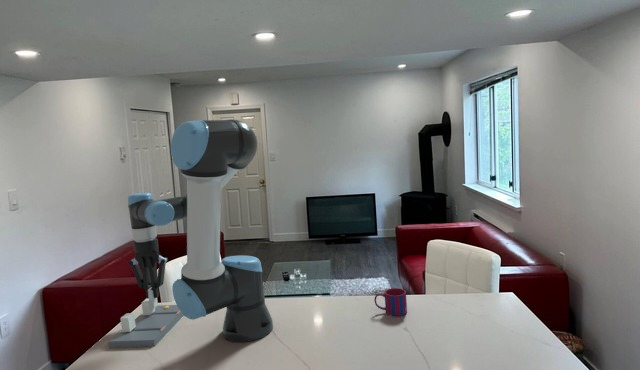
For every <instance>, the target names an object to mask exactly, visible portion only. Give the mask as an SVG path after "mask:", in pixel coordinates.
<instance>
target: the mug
mask: <svg viewBox="0 0 640 370" xmlns="http://www.w3.org/2000/svg"><path fill="white" fill-rule="evenodd" d="M379 296H382V297H384V305H385V307H383V306H380V305H379V304H378V303H377V297H379ZM374 304H375V306H376V307H377V308H378V309H380V310H382V311H385V314H386V315H387V316H390V317H393V318H394V317H395V318H397V317H404V316H405V315H407V314H408V306H407V305H408V304H407V291H406V290H405V289H403V288H399V287H393V288H392V287H391V288H388V289H386V290H385V291H384V293H377V294H375V296H374Z"/></svg>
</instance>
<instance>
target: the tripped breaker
mask: <svg viewBox="0 0 640 370" xmlns="http://www.w3.org/2000/svg"><path fill="white" fill-rule="evenodd" d="M141 310H142V313H143V315H151V314H152V313H153V312H154V311H155V308H154V309H150V304H149V298H145V299H144V300H143V301H142V302H141Z"/></svg>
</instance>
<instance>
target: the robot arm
mask: <svg viewBox="0 0 640 370" xmlns="http://www.w3.org/2000/svg"><path fill="white" fill-rule="evenodd" d="M257 140H258V139H257V135H256V133H255V132H254V130H253V129H252V127H251V126H249V125H248V124H247V123H246V122H244V121H242V120H238V119H209V120H208V119H202V120H201V119H196V120H190V121H184V122H182V123H181V124H179V125H178V126H177V128H176V129H175V130H174V132H173V134H172V137H171V141H170V142H171V143H170V155H171V157H172V162H173V164H174V165H175V166H176V167H177V168H178V169H179V170H180V175H182V177H183V178H185V179H186V194H185V195H180V196H176V197H175V196H174V197H169V198H164V199H158V200H157V199H156V200H154V198H153V195H152V193H151V192H138V193H132V194H130V195H128V197H127V204H128V205H127V208H128V211H129V212H128V213H129V219H130V227H131V228H130V229H131V235H132V237H131V238H132V240H133V243H132V244H133V251H134V253H135V254H134V257H133V258H132V259H131V260H129V261H128V266H130V267H131V270H132V272H133V274H134V278H135V280H136V283H137V285H138V288H139V289H144V290H145V296H146V299H148V298H149V304H150V309H154V308H155V307H157V306H159V303H158V302H159V301H158V297H160V292H159V291H160V290H159V288H160V287H162V286H163V285H164V281H165V271H166V264H167V262H168V260H169V258H168V257H163V256H162V255H161V253H160V251H159V250H160V249H159V240H158V238H157V236H158V232H157V227H160V226H161V227H162V226H166V225H169V224H170V223H172V222H176V221H180V220H184V219H186V222H187V223H186V244H187V245H186V263H185V264H183V266H182V267H181V270H180V273H181V274H180V278H178V279H176V280H175V281H174V282H173V283H172V285H171V287H172V288H171V289H172V295H173V299H174V302H175V305H177V306H178V308H179V310H180V311H181V313H182V314H183V315H184V316H183V317H185V318H187V319H189V320H192V321H194V320H196V319H199V318H204V317H207V315H210V314H212V313H215V312H217V311H220V310H222V309H225V308H226V310H225V316H224V320H223V324H222V334H223V337H224V338H225V339H227V340H228V341H231V342H238V343H245V342H251V341H252V342H253V341H256V340H259V339H261V338H264V337H266V336H267V335H268V334H270V333H271V332H272V331H273V329H274V323H273V322H274V321H273V318H272V316H271V313H270V311H269V309H268V307H267V305H266V300H265V298H266V297H265V290H264V289H265V288H264V279H263V277H264V276H263V268H262V263H261V260H260V259H259V258H258V257H256V256H251V255H229V256H226V257H224V258H222V259H221V261H220V256H221V215H222V212H221V211H222V210H221V209H222V208H221V207H222V206H221V203H222V189H223V188H224V187H226V185H227V184H228V182H230V181H231V180H232V178H233V177H234V176H235V175H236V174H237V172H238V171H240V170H244V169H246V168H247V167H248V166H249V165H250V164H251V163H252V161H253V159H254V158H255V156H256V155H257V150H258V141H257ZM157 263H158V264H159V265H158V266H157ZM157 267H158V272H157Z"/></svg>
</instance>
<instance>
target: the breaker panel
mask: <svg viewBox="0 0 640 370" xmlns="http://www.w3.org/2000/svg"><path fill="white" fill-rule="evenodd" d="M183 317H185V316H184V315H183V314H182V313H181V311H180V310H179V308H178V306H177V304H168V305H167V304H166V305H158V306H157V307H155V311H154V312H153V313H152V314H151V315H143V312H142V313H140V314H139V315H138V316H137V317H135V324H136V327H135V328H134V329H133V330H131V331H130V332H122V329H121V330H120V331H119V332H118V333H117V334H116V335H114V336H113V337H112V338H111V339H110V340H108V344H109V348H111V349H113V348H114V349H115V348H142V347H143V348H144V347H156V346H157V345H158V344H159V342H161V340H162V339H163V338H164V337H165V336H166V335H167V334H168V333H169V332H170V331H171V330H172V328H174V327H175V325H176V324H177V323H178V322H179V321H180V320H181V319H182V318H183Z"/></svg>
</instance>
